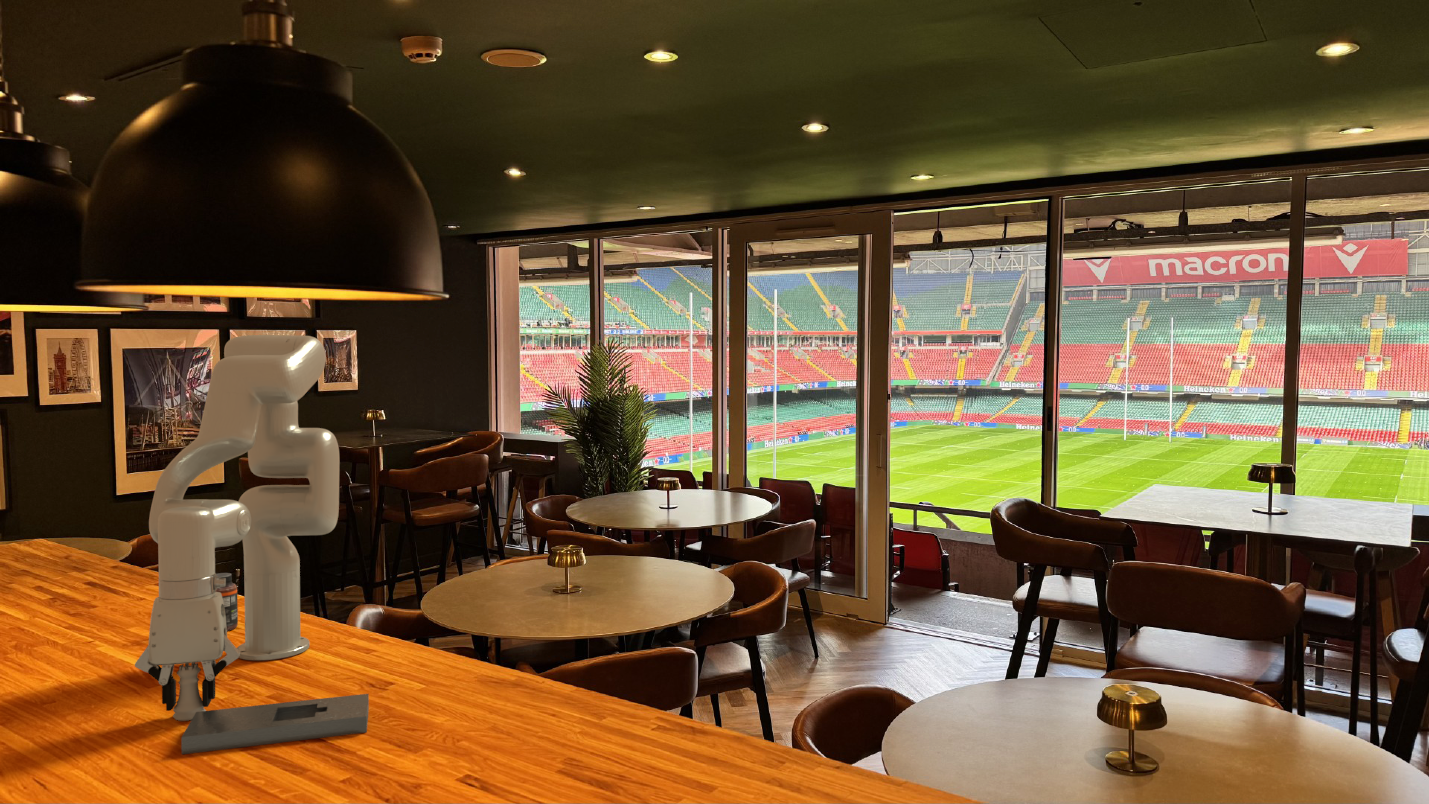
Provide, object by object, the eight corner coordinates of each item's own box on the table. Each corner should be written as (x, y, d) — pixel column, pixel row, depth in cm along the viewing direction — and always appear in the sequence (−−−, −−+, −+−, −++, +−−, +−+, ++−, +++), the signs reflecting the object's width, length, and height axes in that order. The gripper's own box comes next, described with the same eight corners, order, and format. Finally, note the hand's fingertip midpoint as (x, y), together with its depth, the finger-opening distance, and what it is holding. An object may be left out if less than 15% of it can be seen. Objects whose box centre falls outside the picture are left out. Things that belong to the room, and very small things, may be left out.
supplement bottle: (208, 626, 190) (208, 572, 189) (240, 624, 192) (239, 570, 191) (202, 634, 184) (201, 578, 184) (234, 631, 186) (234, 576, 185)
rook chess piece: (212, 712, 142) (212, 661, 141) (189, 723, 137) (188, 671, 137) (189, 709, 143) (188, 659, 143) (165, 720, 138) (164, 668, 138)
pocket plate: (196, 727, 136) (196, 711, 135) (368, 708, 143) (368, 693, 143) (181, 754, 126) (181, 737, 126) (366, 732, 134) (366, 716, 134)
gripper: (251, 578, 146) (253, 691, 146) (130, 586, 140) (132, 703, 141) (244, 589, 139) (246, 707, 139) (116, 598, 133) (118, 721, 134)
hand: (189, 704), depth 140 cm, fingers closed on rook chess piece, 4 cm apart
